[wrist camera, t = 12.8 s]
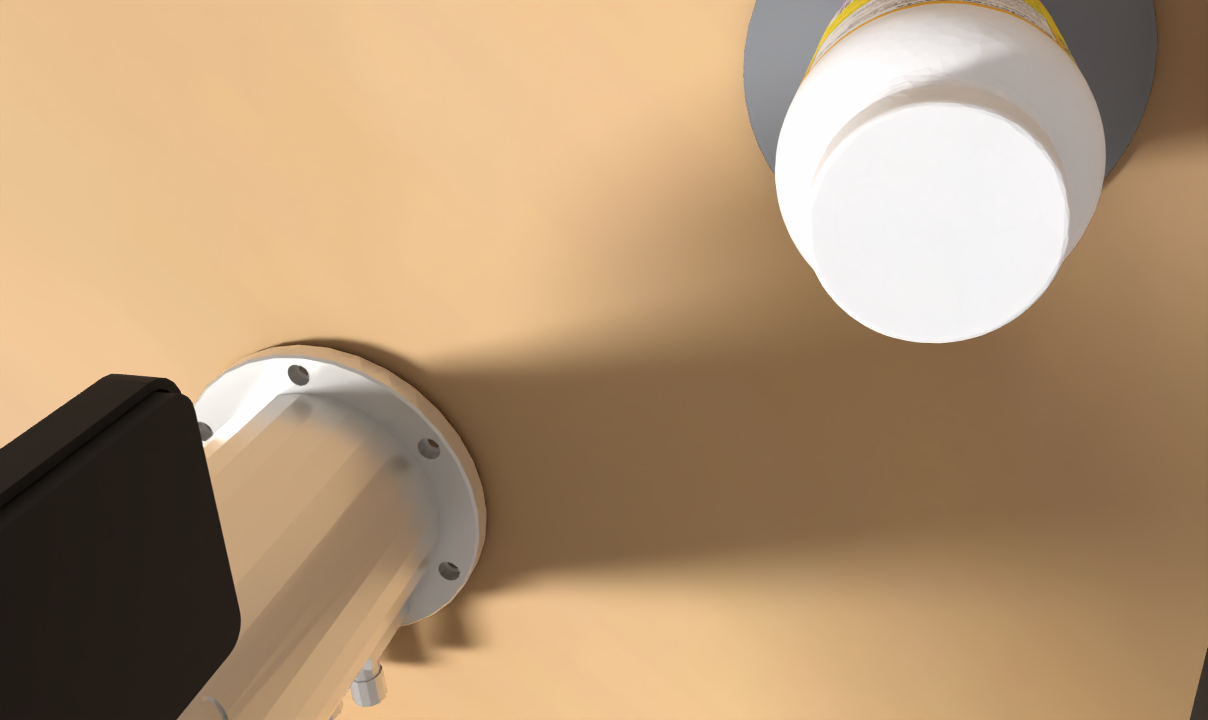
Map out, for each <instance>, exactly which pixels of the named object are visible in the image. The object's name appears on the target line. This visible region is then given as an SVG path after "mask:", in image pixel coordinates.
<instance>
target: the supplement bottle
mask: <svg viewBox="0 0 1208 720" xmlns="http://www.w3.org/2000/svg"><path fill="white" fill-rule="evenodd" d="M1105 162H1106V149H1105V136H1104V130H1103V124H1102V121H1101V117H1100V113H1099V110H1098V107H1097V104H1096V101H1095V99H1094V96H1093V94H1092V92H1091V90H1090V88H1089V86H1088V84H1087V82H1086V80H1085V78H1084V76H1083V75H1082V73H1081V71H1080V69H1079V68H1078V66H1077V64H1076V62H1075V60H1074V58H1073V57H1072V55H1071V53H1070V51H1069V49H1068V47H1067V45H1066V43H1065V41H1064V39H1063V37H1062V35H1061V34H1060V32H1059V30H1058V28H1057V26H1056V24H1055V23H1054V21H1053V19H1052V17H1051V16H1050V14H1049V12H1048V11H1047V9H1046V8H1045V6H1044V5H1043V3H1042V2H1041V1H1040V0H846V1H845V3H844V4H843V5H842V6H841V7H840V9H839V10H838V11H837V12H836V14H835V15H834V17H833V18H832V20H831V21H830V23H829V25H828V27H827V29H826V31H825V33H824V34H823V36H822V39H821V41H820V43H819V45H818V48H817V50H816V52H815V54H814V56H813V58H812V61H811V63H810V65H809V67H808V69H807V72H806V74H805V76H804V78H803V80H802V82H801V84H800V86H799V88H798V90H797V92H796V94H795V96H794V99H793V101H792V103H791V105H790V107H789V109H788V112H787V114H786V117H785V119H784V122H783V125H782V128H781V132H780V135H779V139H778V145H777V151H776V163H775V183H776V191H777V197H778V202H779V206H780V210H781V214H782V217H783V220H784V223H785V225H786V227H787V230H788V232H789V234H790V237H791V238H792V240H793V242H794V244H795V245H796V247H797V249H798V250H799V252H800V253H801V255H802V256H803V257H804V259H805V260H806V261H807V263H808V264H809V265H810V266H811V267H812V269H813V270H814V271H815V273H816V275H817V277H818V279H819V280H820V282H821V284H822V286H823V287H824V289H825V290H826V291H827V293H828V294H829V295H830V296H831V298H832V299H833V300H834V301H835V302H836V303H837V304H838V306H840V307H841V308H842V309H843V310H844V311H845V312H846V313H847V314H848V315H850V316H851V317H852V318H854V319H855V320H857V321H858V322H860V323H861V324H863V325H864V326H866V327H868V328H870V329H872V330H874V331H876V332H878V333H881V334H884V335H886V336H889V337H893V338H897V339H901V340H905V341H912V342H919V343H947V342H955V341H963V340H967V339H971V338H975V337H978V336H982V335H984V334H987V333H989V332H992V331H994V330H996V329H998V328H1000V327H1002V326H1004V325H1005V324H1007V323H1009V322H1011V321H1012V320H1014V319H1015V318H1017V317H1018V316H1020V315H1021V314H1022V313H1024V312H1025V311H1026V310H1027V309H1028V308H1030V307H1031V306H1032V305H1033V304H1034V303H1035V302H1036V301H1037V300H1038V299H1039V298H1040V297H1041V296H1042V294H1043V293H1044V292H1045V291H1046V289H1047V288H1048V287H1049V286H1050V284H1051V283H1052V281H1053V280H1054V278H1055V276H1056V274H1057V272H1058V271H1059V269H1060V267H1061V265H1062V262H1063V261H1064V260H1065V259H1066V257H1067V256H1068V255H1069V254H1070V253H1071V251H1072V250H1073V249H1074V247H1075V246H1076V245H1077V243H1078V242H1079V240H1080V239H1081V238H1082V236H1083V234H1084V232H1085V230H1086V228H1087V226H1088V225H1089V223H1090V220H1091V218H1092V216H1093V214H1094V212H1095V209H1096V206H1097V204H1098V201H1099V197H1100V194H1101V190H1102V185H1103V180H1104V175H1105Z"/></svg>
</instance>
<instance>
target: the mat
mask: <svg viewBox="0 0 1208 720" xmlns="http://www.w3.org/2000/svg"><path fill="white" fill-rule="evenodd" d="M845 1H846V0H757V1H756V4H755V7H754V10H753V13H752V17H751V20H750V23H749V27H748V33H747V39H746V45H745V51H744V73H743V77H744V89H745V100H746V105H747V109H748V114H749V118H750V123H751V126H752V129H753V132H754V134H755V137H756V140H757V143H758V145H759V147H760V149H761V151H762V153H763V155H764V157H765V159H766V161H767V163H768V165H769V167H770V168H771V170H772V171H773V173H774V174H775V163H776V151H777V145H778V139H779V135H780V132H781V128H782V125H783V122H784V119H785V117H786V114H787V112H788V109H789V107H790V105H791V103H792V101H793V99H794V96H795V94H796V92H797V90H798V88H799V86H800V84H801V82H802V80H803V78H804V76H805V74H806V72H807V69H808V67H809V65H810V63H811V61H812V58H813V56H814V54H815V52H816V50H817V48H818V45H819V43H820V41H821V39H822V36H823V34H824V33H825V31H826V29H827V27H828V25H829V23H830V21H831V20H832V18H833V17H834V15H835V14H836V12H837V11H838V10H839V9H840V7H841V6H842V5H843V4H844V3H845ZM1040 1H1041V2H1042V3H1043V5H1044V6H1045V8H1046V9H1047V11H1048V12H1049V14H1050V16H1051V17H1052V19H1053V21H1054V23H1055V24H1056V26H1057V28H1058V30H1059V32H1060V34H1061V35H1062V37H1063V39H1064V41H1065V43H1066V45H1067V47H1068V49H1069V51H1070V53H1071V55H1072V57H1073V58H1074V60H1075V62H1076V64H1077V66H1078V68H1079V69H1080V71H1081V73H1082V75H1083V76H1084V78H1085V80H1086V82H1087V84H1088V86H1089V88H1090V90H1091V92H1092V94H1093V96H1094V99H1095V101H1096V104H1097V107H1098V110H1099V113H1100V117H1101V121H1102V124H1103V130H1104V136H1105V149H1106V162H1105V175H1104V178H1105V177H1106V175H1107V174H1108V173H1109V172H1110V171H1111V170H1112V169H1113V167H1114V166H1115V164H1116V163H1117V161H1118V160H1119V158H1120V157H1121V155H1122V154H1123V152H1124V151H1125V150H1126V148H1127V147H1128V145H1129V143H1130V141H1131V139H1132V137H1133V135H1134V133H1135V131H1136V129H1137V127H1138V125H1139V123H1140V121H1141V119H1142V116H1143V113H1144V110H1145V107H1146V104H1147V102H1148V99H1149V96H1150V92H1151V87H1152V82H1153V78H1154V73H1155V68H1156V53H1157V29H1156V15H1155V9H1154V5H1153V1H1152V0H1040Z"/></svg>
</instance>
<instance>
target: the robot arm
mask: <svg viewBox="0 0 1208 720" xmlns="http://www.w3.org/2000/svg"><path fill="white" fill-rule="evenodd" d="M486 520H487V513H486V506H485V499H484V492H483V487H482V484H481V481H480V478H479V476H478V473H477V470H476V467H475V464H474V461H473V460H472V458H471V456H470V454H469V452H468V451H467V449H466V447H465V445H464V444H463V442H462V440H461V438H460V436H459V435H458V434H457V432H456V431H455V430H454V429H453V427H452V426H451V425H450V424H449V422H448V421H447V420H446V419H445V417H444V416H443V415H442V413H441V412H440V411H439V410H438V409H437V408H436V407H435V406H434V405H433V404H432V403H431V402H429V401H428V400H427V399H426V398H425V397H424V396H423V395H422V394H421V393H420V392H419V391H417V390H416V389H415V388H414V387H412V386H411V385H409V384H408V383H407V382H405V381H404V380H402V379H401V378H399V377H398V376H396V375H395V374H393V373H392V372H390V371H389V370H387V369H385V368H383V367H381V366H378V365H376V364H374V363H372V362H370V361H368V360H366V359H363V358H361V357H359V356H356V355H353V354H349V353H346V352H342V351H338V350H335V349H331V348H327V347H317V346H307V345H292V346H281V347H272V348H268V349H265V350H262V351H259V352H256V353H253V354H250V355H247V356H246V357H244V358H242V359H241V360H239V361H238V362H236V363H234V364H233V365H231V366H230V367H228V368H227V369H225V370H224V371H223V372H222V373H221V374H220V375H219V376H217V377H216V378H215V379H214V380H213V381H212V382H211V383H209V384H208V385H207V386H206V387H205V389H204V390H203V392H202V393H201V394H200V396H199V397H198V398H197V400H196V401H195V403H194V404H193V403H192V402H191V400H190V399H189V398H188V397H187V396H185V395H183V394H181V392H180V390H179V388H178V387H177V386H176V384H175V383H174V382H172V381H171V380H169V379H167V378H158V377H147V376H135V375H124V374H110V375H108V376H105V377H103V378H101V379H100V380H98V381H97V382H96V383H94V384H93V385H91V386H90V387H88V388H87V389H86V390H84V391H83V392H81V393H80V394H78V395H77V396H76V397H74V398H73V399H71V400H70V401H68V402H67V403H66V404H64V405H63V406H61V407H60V408H58V409H57V410H56V411H54V412H53V413H51V414H50V415H48V416H47V417H46V418H44V419H43V420H41V421H40V422H38V423H37V424H36V425H34V426H33V427H31V428H30V429H28V430H27V431H26V432H24V433H23V434H21V435H20V436H18V437H17V438H16V439H14V440H13V441H11V442H10V443H8V444H7V445H6V446H4V447H3V448H1V449H0V720H333V719H334V718H335V717H336V716H337V715H338V714H339V713H340V712H341V710H342V707H343V701H342V698H343V697H344V695H345V694H346V692H347V691H348V689H349V688H351V693H352V697H353V700H354V702H355V704H357V705H359V706H362V707H368V706H373V705H376V704H378V703H380V702H381V701H382V700H383V699H384V698H385V697H386V693H387V688H386V683H385V679H384V674H383V669H382V666H381V664H380V663H379V658H380V656H381V654H382V653H383V651H384V650H385V648H386V647H387V645H388V644H389V642H390V641H391V639H392V637H393V636H394V634H395V633H396V631H397V630H398V628H399V627H400V626H405V625H410V624H413V623H415V622H418V621H420V620H423V619H425V618H427V617H430V616H432V615H434V614H435V613H436V612H438V611H439V610H440V609H442V608H443V607H445V606H446V605H447V604H449V603H450V602H451V601H452V600H453V599H454V597H455V596H456V595H457V594H458V593H459V591H460V590H461V589H462V588H463V587H464V585H465V584H466V582H467V580H468V579H469V577H470V575H471V573H472V572H473V570H474V568H475V566H476V565H477V563H478V560H479V557H480V554H481V551H482V548H483V545H484V542H485V534H486ZM1190 720H1208V648H1207V652H1206V656H1205V660H1204V665H1203V669H1202V673H1201V677H1200V681H1199V685H1198V689H1197V693H1196V697H1195V701H1194V705H1193V709H1192V713H1191V717H1190Z"/></svg>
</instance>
